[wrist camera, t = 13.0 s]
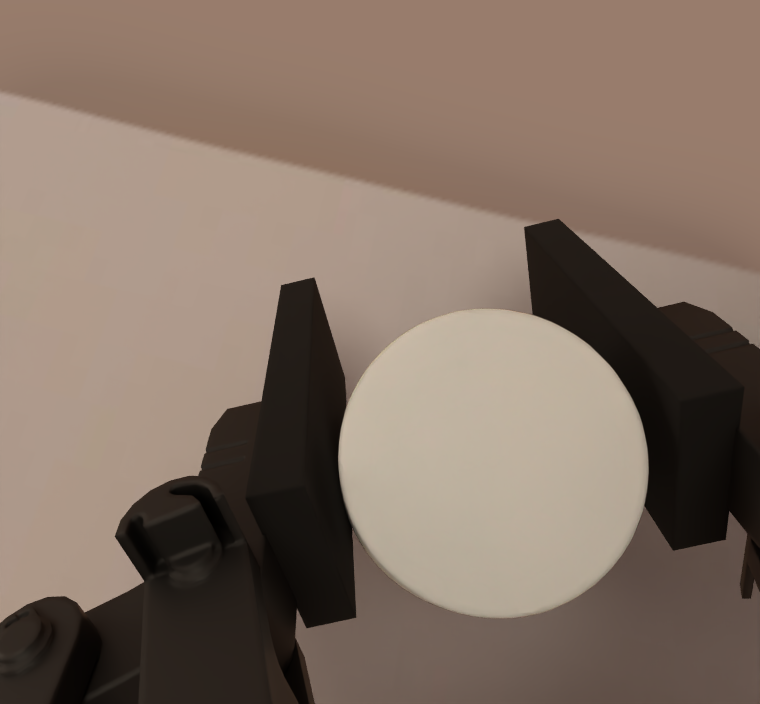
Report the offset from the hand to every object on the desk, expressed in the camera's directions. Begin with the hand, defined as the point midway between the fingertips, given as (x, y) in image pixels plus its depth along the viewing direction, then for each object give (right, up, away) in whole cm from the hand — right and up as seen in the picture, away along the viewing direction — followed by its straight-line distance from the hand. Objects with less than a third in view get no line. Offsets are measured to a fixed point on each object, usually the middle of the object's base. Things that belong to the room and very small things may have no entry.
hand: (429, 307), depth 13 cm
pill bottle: (+1, -4, +2) cm, 5 cm away
